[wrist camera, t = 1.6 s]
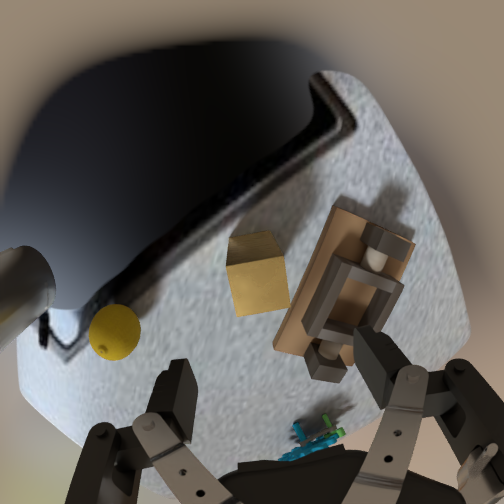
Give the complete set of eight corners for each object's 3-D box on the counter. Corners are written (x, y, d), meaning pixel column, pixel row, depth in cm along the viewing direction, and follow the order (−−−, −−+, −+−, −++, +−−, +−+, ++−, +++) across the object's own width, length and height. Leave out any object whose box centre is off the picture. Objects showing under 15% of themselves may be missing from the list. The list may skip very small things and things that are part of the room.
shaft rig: (272, 343, 33) (278, 374, 27) (332, 205, 29) (354, 214, 23) (348, 360, 34) (363, 388, 29) (409, 240, 30) (437, 254, 25)
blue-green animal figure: (283, 459, 38) (278, 475, 30) (268, 432, 41) (261, 442, 32) (342, 432, 39) (352, 441, 30) (327, 404, 42) (334, 408, 33)
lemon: (108, 287, 30) (77, 319, 22) (152, 302, 31) (129, 340, 23) (104, 325, 31) (78, 361, 24) (145, 339, 32) (125, 381, 24)
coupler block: (236, 275, 30) (236, 317, 22) (229, 237, 29) (225, 266, 20) (275, 268, 30) (290, 307, 22) (269, 230, 29) (283, 255, 20)
